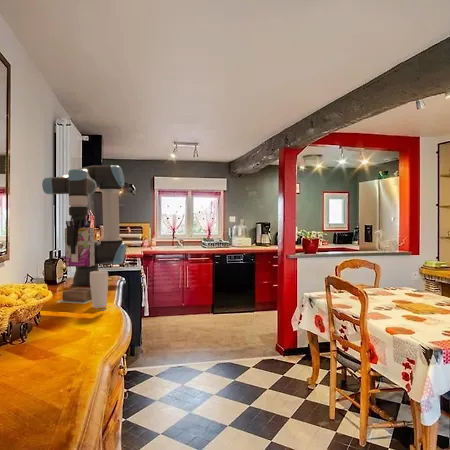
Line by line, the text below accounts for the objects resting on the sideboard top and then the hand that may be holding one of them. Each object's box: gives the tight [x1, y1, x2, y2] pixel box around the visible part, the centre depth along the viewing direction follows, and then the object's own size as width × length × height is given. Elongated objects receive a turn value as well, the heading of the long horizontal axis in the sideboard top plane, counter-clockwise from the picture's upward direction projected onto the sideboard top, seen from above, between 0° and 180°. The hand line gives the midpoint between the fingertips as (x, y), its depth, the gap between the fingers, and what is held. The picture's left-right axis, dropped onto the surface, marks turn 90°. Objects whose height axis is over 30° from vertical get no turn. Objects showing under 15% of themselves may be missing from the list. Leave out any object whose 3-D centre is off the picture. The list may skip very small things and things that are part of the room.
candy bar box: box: [64, 227, 95, 268], centre depth 164 cm, size 11×5×16 cm, turn 84°
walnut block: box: [61, 286, 92, 302], centre depth 164 cm, size 10×10×4 cm
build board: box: [56, 299, 92, 305], centre depth 164 cm, size 14×14×2 cm
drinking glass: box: [89, 270, 109, 312], centre depth 150 cm, size 7×7×15 cm
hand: (79, 260), depth 164 cm, fingers closed on candy bar box, 5 cm apart
